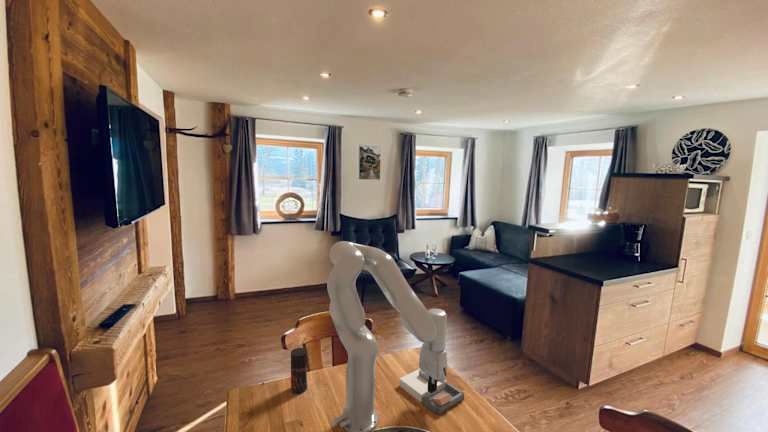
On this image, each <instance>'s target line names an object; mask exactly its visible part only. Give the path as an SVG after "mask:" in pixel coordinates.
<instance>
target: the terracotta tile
mask: <svg viewBox="0 0 768 432" xmlns="http://www.w3.org/2000/svg"><path fill="white" fill-rule="evenodd" d="M450 400H451V397H450V394H439V395H437V396H435V397H434V398H432V399H431V401H432V402H433V403H435V404H436V405H444V404H445V403H447V402H449V401H450Z"/></svg>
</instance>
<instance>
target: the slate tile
mask: <svg viewBox="0 0 768 432" xmlns="http://www.w3.org/2000/svg"><path fill="white" fill-rule="evenodd" d="M419 376H420V377H422V378H423V379H425V380H426V381H428V380H427V377H426V374H425V373H424V372H423V371H422V370H419Z"/></svg>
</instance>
